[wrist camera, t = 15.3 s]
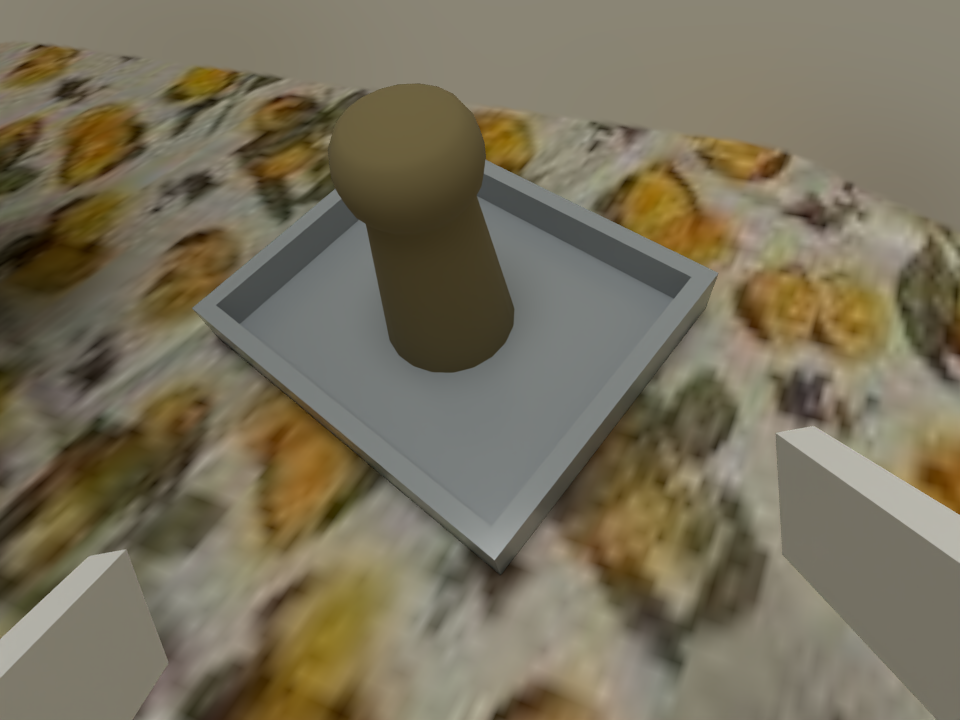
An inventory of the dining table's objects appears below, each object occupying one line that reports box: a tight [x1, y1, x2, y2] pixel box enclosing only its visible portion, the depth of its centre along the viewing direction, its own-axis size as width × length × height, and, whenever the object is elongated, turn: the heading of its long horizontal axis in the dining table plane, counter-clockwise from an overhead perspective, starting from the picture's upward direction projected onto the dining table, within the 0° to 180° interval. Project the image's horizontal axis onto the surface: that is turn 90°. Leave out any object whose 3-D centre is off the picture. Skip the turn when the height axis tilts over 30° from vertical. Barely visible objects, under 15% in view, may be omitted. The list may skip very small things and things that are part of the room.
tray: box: [192, 160, 718, 575], centre depth 27 cm, size 18×15×2 cm
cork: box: [328, 84, 515, 373], centre depth 23 cm, size 6×6×11 cm
